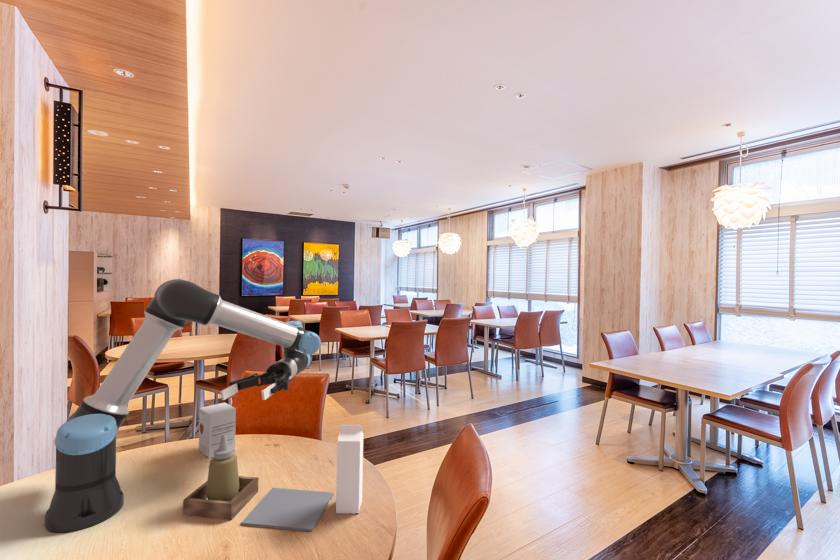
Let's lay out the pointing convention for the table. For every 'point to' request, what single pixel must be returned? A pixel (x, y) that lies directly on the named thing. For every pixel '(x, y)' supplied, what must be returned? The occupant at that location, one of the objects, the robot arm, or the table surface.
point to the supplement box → (216, 427)
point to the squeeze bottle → (223, 473)
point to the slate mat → (289, 509)
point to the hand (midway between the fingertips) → (242, 395)
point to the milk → (349, 469)
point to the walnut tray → (217, 509)
